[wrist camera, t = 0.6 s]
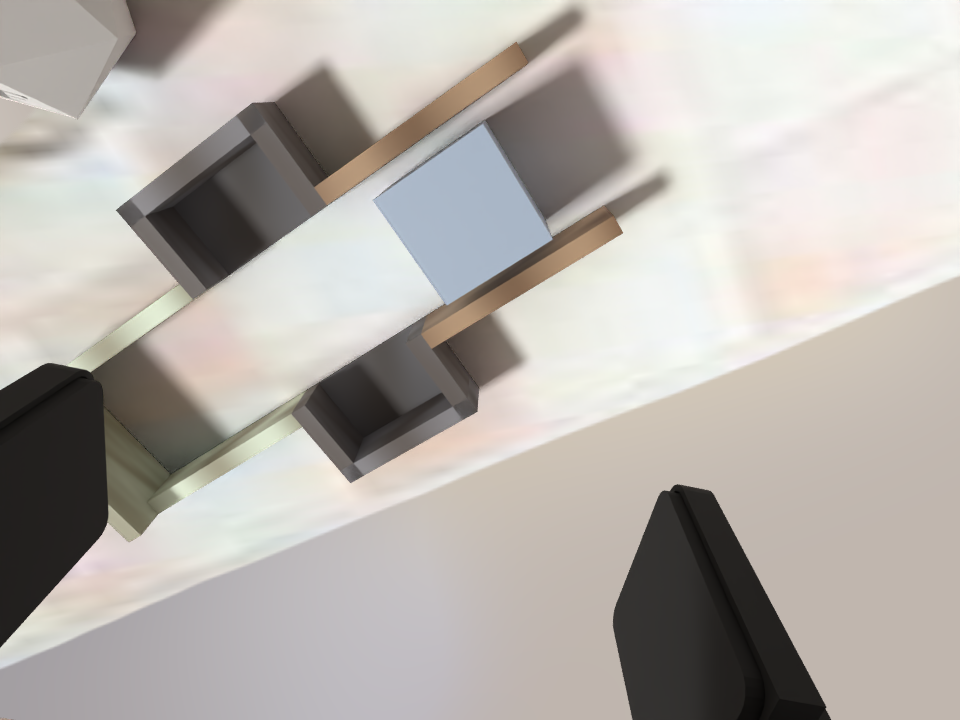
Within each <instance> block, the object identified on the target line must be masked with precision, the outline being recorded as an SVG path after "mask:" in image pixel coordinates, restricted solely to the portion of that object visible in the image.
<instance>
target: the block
mask: <svg viewBox="0 0 960 720" xmlns="http://www.w3.org/2000/svg"><path fill="white" fill-rule="evenodd" d="M373 201H374V203H375V204H376V205H377V207H378V208H379V210H380V211H381V213H382V214H383V215H384V217H385V218H386V220H387V221H388V223H389V224H390V225H391V227H392V228H393V230H394V231H395V233H396V234H397V235H398V237H399V238H400V240H401V241H402V243H403V244H404V245H405V247H406V248H407V250H408V251H409V253H410V254H411V255H412V257H413V258H414V260H415V261H416V263H417V264H418V265H419V267H420V268H421V270H422V271H423V273H424V274H425V275H426V277H427V278H428V280H429V281H430V282H431V284H432V285H433V287H434V288H435V290H436V291H437V292H438V294H439V295H440V297H441V298H442V300H443V301H444V302H445V304H446V305H449V304H450V303H452V302H453V301H455V300H457V299H458V298H460V297H461V296H463V295H465V294H466V293H468V292H469V291H471V290H473V289H474V288H476V287H477V286H479V285H481V284H482V283H484V282H485V281H487V280H489V279H490V278H492V277H493V276H495V275H497V274H498V273H500V272H502V271H503V270H505V269H506V268H508V267H510V266H511V265H513V264H514V263H516V262H518V261H519V260H521V259H522V258H524V257H526V256H527V255H529V254H530V253H532V252H534V251H535V250H537V249H538V248H540V247H542V246H543V245H545V244H546V243H548V242H550V241H551V240H553V238H552V236H551V233H550V230H549V228H548V225H547V223H546V220H545V218H544V217H543V215H542V213H541V212H540V210H539V209H538V207H537V205H536V204H535V202H534V200H533V199H532V197H531V195H530V194H529V192H528V190H527V189H526V187H525V185H524V184H523V182H522V180H521V179H520V177H519V175H518V174H517V172H516V170H515V169H514V167H513V165H512V164H511V162H510V160H509V159H508V157H507V156H506V154H505V152H504V151H503V149H502V147H501V146H500V144H499V142H498V141H497V139H496V137H495V136H494V134H493V132H492V131H491V129H490V127H489V126H488V124H487V122H486V121H485V120H484V121H483V122H481V123H480V124H478V125H477V126H475V127H474V128H473V129H471V130H470V131H468V132H467V133H465V134H464V135H462V136H461V137H460V138H458V139H457V140H455V141H454V142H452V143H451V144H450V145H448V146H447V147H445V148H444V149H442V150H441V151H440V152H438V153H437V154H435V155H434V156H432V157H431V158H429V159H428V160H427V161H425V162H424V163H422V164H421V165H419V166H418V167H417V168H415V169H414V170H412V171H411V172H409V173H408V174H407V175H405V176H404V177H402V178H401V179H399V180H398V181H397V182H395V183H394V184H392V185H391V186H389V187H388V188H387V189H386V190H385V191H383V192H382V193H381V194H380V195H379V196H377V197H376V198H375V199H374V200H373Z"/></svg>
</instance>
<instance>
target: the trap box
mask: <svg viewBox="0 0 960 720" xmlns="http://www.w3.org/2000/svg"><path fill="white" fill-rule="evenodd" d="M527 64H528V61H527V60H526V58H525V56H524V54H523V53H522V51H521V49H520V47H519V45H518V44H517V42H515V43H514V44H513V45H511V46H510V47H508V48H507V49H506V50H504V51H503V52H501V53H500V54H499V55H497V56H496V57H495V58H493V59H492V60H490V61H489V62H488V63H486V64H485V65H483V66H482V67H481V68H479V69H478V70H476V71H475V72H474V73H472V74H471V75H470V76H468V77H467V78H465V79H464V80H463V81H461V82H460V83H458V84H457V85H456V86H454V87H453V88H451V89H450V90H449V91H447V92H446V93H444V94H443V95H442V96H440V97H439V98H438V99H436V100H435V101H433V102H432V103H431V104H429V105H428V106H426V107H425V108H424V109H422V110H421V111H419V112H418V113H417V114H415V115H414V116H413V117H411V118H410V119H408V120H407V121H406V122H404V123H403V124H401V125H400V126H399V127H397V128H396V129H394V130H393V131H392V132H390V133H389V134H388V135H386V136H385V137H383V138H382V139H381V140H379V141H378V142H376V143H375V144H374V145H372V146H371V147H369V148H368V149H367V150H365V151H364V152H363V153H361V154H360V155H358V156H357V157H356V158H354V159H353V160H351V161H350V162H349V163H347V164H346V165H344V166H343V167H342V168H340V169H339V170H338V171H336V172H335V173H333V174H332V175H331V176H329V177H327V175H326V174H325V173H324V171H323V170H322V168H321V167H320V166H319V164H318V163H317V161H316V160H315V159H314V157H313V156H312V154H311V153H310V152H309V150H308V149H307V147H306V146H305V145H304V143H303V142H302V140H301V139H300V138H299V136H298V135H297V133H296V132H295V131H294V129H293V128H292V126H291V125H290V124H289V122H288V121H287V119H286V118H285V117H284V115H283V114H282V112H281V111H280V110H279V108H278V107H277V105H276V104H275V103H274V102H265V103H252V104H250V105H249V106H248V107H247V108H245V109H244V110H243V111H241V112H240V113H239V114H238V115H236V116H235V117H234V118H233V119H231V120H230V121H229V122H227V123H226V124H225V125H224V126H222V127H221V128H220V129H219V130H217V131H216V132H215V133H213V134H212V135H211V136H210V137H208V138H207V139H206V140H205V141H203V142H202V143H201V144H199V145H198V146H197V147H196V148H194V149H193V150H192V151H191V152H189V153H188V154H187V155H185V156H184V157H183V158H182V159H180V160H179V161H178V162H177V163H175V164H174V165H173V166H171V167H170V168H169V169H168V170H166V171H165V172H164V173H163V174H161V175H160V176H159V177H157V178H156V179H155V180H154V181H152V182H151V183H150V184H149V185H147V186H146V187H145V188H143V189H142V190H141V191H140V192H138V193H137V194H136V195H135V196H133V197H132V198H131V199H129V200H128V201H127V202H126V203H124V204H123V205H122V206H121V207H119V208H118V209H117V210H116V211H117V212H118V213H119V214H120V215H121V217H122V218H123V219H124V220H125V221H126V222H127V223H128V225H129V226H130V227H131V228H132V229H133V230H134V232H135V233H136V234H137V235H138V236H139V237H140V239H141V240H142V241H143V242H144V243H145V244H146V246H147V247H148V248H149V249H150V250H151V251H152V253H153V254H154V255H155V256H156V257H157V258H158V260H159V261H160V262H161V263H162V264H163V265H164V267H165V268H166V269H167V270H168V271H169V272H170V274H171V275H172V276H173V277H174V278H175V279H176V281H177V282H178V283H179V285H178V286H176V287H175V288H174V289H172V290H171V291H169V292H168V293H167V294H165V295H164V296H162V297H161V298H160V299H158V300H157V301H155V302H154V303H153V304H151V305H150V306H149V307H147V308H146V309H144V310H143V311H142V312H140V313H139V314H137V315H136V316H135V317H133V318H132V319H130V320H129V321H128V322H126V323H125V324H124V325H122V326H121V327H119V328H118V329H117V330H115V331H114V332H112V333H111V334H110V335H108V336H107V337H105V338H104V339H103V340H101V341H100V342H99V343H97V344H96V345H94V346H93V347H92V348H90V349H89V350H87V351H86V352H85V353H83V354H82V355H80V356H79V357H78V358H76V359H75V360H73V361H72V362H71V363H69V364H68V365H67V366H69V367H74V368H79V369H84V370H88V371H89V372H90V373H91V372H92V371H94V370H95V369H97V368H98V367H100V366H101V365H102V364H104V363H105V362H107V361H108V360H109V359H111V358H112V357H114V356H115V355H117V354H118V353H119V352H121V351H122V350H124V349H125V348H126V347H128V346H129V345H131V344H132V343H134V342H135V341H136V340H138V339H139V338H141V337H142V336H143V335H145V334H146V333H148V332H149V331H151V330H152V329H153V328H155V327H156V326H158V325H159V324H160V323H162V322H163V321H165V320H166V319H168V318H169V317H170V316H172V315H173V314H175V313H176V312H177V311H179V310H180V309H182V308H183V307H185V306H186V305H187V304H189V303H190V302H192V301H193V300H194V299H196V298H197V297H199V296H200V295H202V294H203V293H204V292H206V291H207V290H209V289H210V288H211V287H213V286H214V285H216V284H217V283H219V282H220V281H221V280H223V279H224V278H226V277H227V276H228V275H230V274H231V273H233V272H234V271H236V270H237V269H238V268H240V267H241V266H243V265H244V264H245V263H247V262H248V261H250V260H251V259H253V258H254V257H255V256H257V255H258V254H260V253H261V252H262V251H264V250H265V249H267V248H268V247H269V246H271V245H272V244H274V243H275V242H277V241H278V240H279V239H281V238H282V237H284V236H285V235H286V234H288V233H289V232H291V231H292V230H294V229H295V228H296V227H298V226H299V225H301V224H302V223H303V222H305V221H306V220H308V219H309V218H311V217H312V216H313V215H315V214H316V213H318V212H319V211H320V210H322V209H323V208H325V207H326V206H328V205H329V204H330V203H332V202H333V201H335V200H336V199H337V198H339V197H340V196H342V195H343V194H345V193H346V192H347V191H349V190H350V189H352V188H353V187H354V186H356V185H357V184H359V183H360V182H362V181H363V180H364V179H366V178H367V177H369V176H370V175H371V174H373V173H374V172H376V171H377V170H379V169H380V168H381V167H383V166H384V165H386V164H387V163H388V162H390V161H391V160H393V159H394V158H396V157H397V156H398V155H400V154H401V153H403V152H404V151H405V150H407V149H408V148H410V147H411V146H413V145H414V144H415V143H417V142H418V141H420V140H421V139H422V138H424V137H425V136H427V135H428V134H430V133H431V132H432V131H434V130H435V129H437V128H438V127H439V126H441V125H442V124H444V123H445V122H447V121H448V120H449V119H451V118H452V117H454V116H455V115H456V114H458V113H459V112H461V111H462V110H464V109H465V108H466V107H468V106H469V105H471V104H472V103H473V102H475V101H476V100H478V99H479V98H481V97H482V96H483V95H485V94H486V93H488V92H489V91H490V90H492V89H493V88H495V87H496V86H498V85H499V84H500V83H502V82H503V81H505V80H506V79H507V78H509V77H510V76H512V75H513V74H515V73H516V72H517V71H519V70H520V69H522V68H523V67H524V66H526V65H527ZM622 233H623V232H622V230H621V228H620V226H619V225H618V223H617V221H616V219H615V217H614V216H613V215H612V214H611V213H610V212H609V210H608V209H607V208H606V207H605V206H602V207H601V208H599V209H597V210H596V211H594V212H593V213H591V214H589V215H588V216H586V217H585V218H583V219H581V220H580V221H578V222H577V223H575V224H573V225H572V226H570V227H568V228H567V229H565V230H564V231H562V232H560V233H559V234H557V235H556V236H554V237H552V238H553V240H551V241H550V242H548V243H546V244H545V245H543V246H542V247H540V248H538V249H537V250H535V251H534V252H532V253H530V254H529V255H527V256H526V257H524V258H522V259H521V260H519V261H518V262H516V263H514V264H513V265H511V266H510V267H508V268H506V269H505V270H503V271H502V272H500V273H498V274H497V275H495V276H493V277H492V278H490V279H489V280H487V281H485V282H484V283H482V284H481V285H479V286H477V287H476V288H474V289H473V290H471V291H469V292H468V293H466V294H465V295H463V296H461V297H460V298H458V299H457V300H455V301H453V302H452V303H450V304H449V305H446V304H445V305H443V306H441V307H440V308H438V309H436V310H435V311H433V312H432V313H430V314H428V315H427V316H425V317H424V318H422V319H420V320H419V321H417V322H416V323H414V324H412V325H411V326H409V327H408V328H406V329H404V330H403V331H401V332H399V333H398V334H396V335H395V336H393V337H391V338H390V339H388V340H387V341H385V342H383V343H382V344H380V345H379V346H377V347H375V348H374V349H372V350H371V351H369V352H367V353H366V354H364V355H362V356H361V357H359V358H358V359H356V360H354V361H353V362H351V363H350V364H348V365H346V366H345V367H343V368H342V369H340V370H338V371H337V372H335V373H333V374H332V375H330V376H329V377H327V378H325V379H324V380H322V381H321V382H319V383H317V384H316V385H314V386H313V387H311V388H309V389H308V390H306V391H305V392H303V393H301V394H300V395H298V396H296V397H295V398H293V399H292V400H290V401H288V402H287V403H285V404H284V405H282V406H280V407H279V408H277V409H276V410H274V411H272V412H271V413H269V414H268V415H266V416H264V417H263V418H261V419H259V420H258V421H256V422H255V423H253V424H251V425H250V426H248V427H247V428H245V429H243V430H242V431H240V432H239V433H237V434H235V435H234V436H232V437H230V438H229V439H227V440H226V441H224V442H222V443H221V444H219V445H218V446H216V447H214V448H213V449H211V450H210V451H208V452H206V453H205V454H203V455H202V456H200V457H198V458H197V459H195V460H193V461H192V462H190V463H189V464H187V465H185V466H184V467H182V468H181V469H179V470H177V471H176V472H174V473H173V474H170V473H169V472H168V471H167V470H166V469H165V468H164V467H163V466H162V465H161V464H160V463H159V462H158V461H157V460H156V459H155V458H154V457H153V456H152V455H151V454H150V453H149V452H148V451H147V450H146V449H145V448H144V447H143V446H142V445H141V444H140V443H139V442H138V441H137V440H136V439H135V438H134V437H133V436H132V435H131V434H130V433H129V432H128V431H127V430H126V429H125V428H124V427H123V426H122V425H121V424H120V423H119V422H118V421H117V420H116V419H115V418H114V417H113V416H112V415H111V414H110V413H109V411H108V410H107V409H106V408H105V407H104V406H103V407H104V427H105V448H106V469H107V490H108V510H109V515H108V521H107V522H108V523H109V524H110V525H111V526H112V527H113V528H114V529H115V530H116V531H117V532H118V533H119V534H120V535H121V536H122V537H124V538H125V539H126V540H127V541H128V542H131V541H132V540H134V539H136V538H137V537H139V536H141V535H142V534H143V532H144V531H145V530H146V529H147V527H148V526H149V525H150V524H151V522H152V521H153V520H154V519H155V517H156V516H157V515H158V514H159V513H161V512H162V511H164V510H166V509H167V508H169V507H171V506H172V505H174V504H176V503H177V502H179V501H181V500H182V499H184V498H186V497H187V496H189V495H191V494H192V493H194V492H196V491H197V490H199V489H200V488H202V487H204V486H205V485H207V484H209V483H210V482H212V481H214V480H215V479H217V478H219V477H220V476H222V475H224V474H225V473H227V472H229V471H230V470H232V469H234V468H235V467H237V466H239V465H240V464H242V463H243V462H245V461H247V460H248V459H250V458H252V457H253V456H255V455H257V454H258V453H260V452H262V451H263V450H265V449H267V448H268V447H270V446H272V445H273V444H275V443H277V442H278V441H280V440H282V439H283V438H285V437H287V436H288V435H290V434H291V433H293V432H295V431H296V430H298V429H300V428H301V427H303V428H304V429H305V431H306V432H307V433H308V434H309V435H310V436H311V438H312V439H313V440H314V441H315V442H316V443H317V445H318V446H319V447H320V448H321V449H322V450H323V452H324V453H325V454H326V455H327V456H328V457H329V459H330V460H331V461H332V462H333V463H334V464H335V466H336V467H337V468H338V469H339V470H340V471H341V473H342V474H343V475H344V476H345V477H346V478H347V480H348V481H349V482H350V483H352V482H353V481H355V480H357V479H359V478H360V477H362V476H364V475H366V474H368V473H369V472H371V471H373V470H375V469H376V468H378V467H380V466H382V465H384V464H385V463H387V462H389V461H391V460H392V459H394V458H396V457H398V456H400V455H401V454H403V453H405V452H407V451H408V450H410V449H412V448H414V447H415V446H417V445H419V444H421V443H423V442H424V441H426V440H428V439H430V438H431V437H433V436H435V435H437V434H439V433H440V432H442V431H444V430H446V429H447V428H449V427H451V426H453V425H455V424H456V423H458V422H460V421H462V420H463V419H465V418H467V417H469V416H471V415H472V414H474V413H476V412H477V410H478V394H479V388H478V386H477V385H476V383H475V382H474V381H473V379H472V378H471V376H470V375H469V374H468V372H467V371H466V370H465V368H464V367H463V365H462V364H461V363H460V361H459V360H458V358H457V357H456V356H455V354H454V353H453V351H452V350H451V349H450V347H449V346H448V344H447V343H446V342H445V340H447V339H449V338H450V337H452V336H454V335H455V334H457V333H459V332H460V331H462V330H464V329H465V328H467V327H469V326H470V325H472V324H474V323H475V322H477V321H478V320H480V319H482V318H483V317H485V316H487V315H488V314H490V313H492V312H493V311H495V310H497V309H498V308H500V307H502V306H503V305H505V304H507V303H508V302H510V301H512V300H513V299H515V298H517V297H518V296H520V295H521V294H523V293H525V292H526V291H528V290H530V289H531V288H533V287H535V286H536V285H538V284H540V283H541V282H543V281H545V280H546V279H548V278H550V277H551V276H553V275H555V274H556V273H558V272H560V271H561V270H563V269H565V268H566V267H568V266H569V265H571V264H573V263H574V262H576V261H578V260H579V259H581V258H583V257H584V256H586V255H588V254H589V253H591V252H593V251H594V250H596V249H598V248H599V247H601V246H603V245H604V244H606V243H608V242H609V241H611V240H613V239H614V238H616V237H617V236H619V235H621V234H622Z"/></svg>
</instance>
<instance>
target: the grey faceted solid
mask: <svg viewBox="0 0 960 720" xmlns="http://www.w3.org/2000/svg"><path fill="white" fill-rule="evenodd" d="M135 34H136V30H135V27H134V24H133V21H132V18H131V15H130V12H129V10H128V7H127V4H126V1H125V0H0V98H3V99H7V100H10V101H14V102H18V103H21V104H25V105H29V106H32V107H36V108H39V109H43V110H47V111H50V112H54V113H58V114H61V115H65V116H68V117H72V118H76V119H78V118H79V117H80V115H81V114H82V112H83V111H84V109H85V108H86V107H87V105H88V104H89V102H90V101H91V99H92V98H93V96H94V95H95V93H96V92H97V90H98V89H99V87H100V86H101V84H102V83H103V82H104V80H105V79H106V77H107V76H108V74H109V73H110V71H111V70H112V68H113V67H114V65H115V64H116V62H117V61H118V59H119V58H120V57H121V55H122V54H123V52H124V51H125V49H126V48H127V46H128V45H129V43H130V42H131V40H132V39H133V37H134V36H135Z"/></svg>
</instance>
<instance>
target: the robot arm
mask: <svg viewBox="0 0 960 720" xmlns="http://www.w3.org/2000/svg"><path fill="white" fill-rule="evenodd" d="M108 515H109V510H108V490H107V469H106V448H105V427H104V407H103V390H102V386H101V384H100V383H99V382H98V381H94V378H93V376H92V374H91V373H90V372H89V371H88V370H84V369H79V368H74V367H69V366H64V365H59V364H53V363H47V364H44V365H42V366H40V367H39V368H37V369H35V370H33V371H32V372H30V373H28V374H27V375H25V376H23V377H22V378H20V379H18V380H17V381H15V382H13V383H12V384H10V385H8V386H7V387H5V388H3V389H1V390H0V647H1V646H2V645H3V644H4V643H5V642H6V641H7V640H8V638H9V637H10V636H11V635H12V634H13V633H14V632H15V631H16V630H17V628H18V627H19V626H20V625H21V624H22V623H23V622H24V621H25V620H26V619H27V617H28V616H29V615H30V614H31V613H32V612H33V611H34V610H35V609H36V607H37V606H38V605H39V604H40V603H41V602H42V601H43V600H44V599H45V597H46V596H47V595H48V594H49V593H50V592H51V591H52V590H53V589H54V587H55V586H56V585H57V584H58V583H59V582H60V581H61V580H62V579H63V578H64V576H65V575H66V574H67V573H68V572H69V571H70V570H71V569H72V568H73V566H74V565H75V564H76V563H77V562H78V561H79V560H80V559H81V558H82V556H83V555H84V554H85V553H86V552H87V551H88V550H89V549H90V548H91V546H92V545H93V544H94V543H95V542H96V541H97V540H98V539H99V537H100V536H101V535H102V533H103V531H104V530H105V527H106V525H107V521H108ZM613 628H614V633H615V639H616V643H617V648H618V653H619V658H620V662H621V667H622V672H623V677H624V681H625V686H626V690H627V695H628V700H629V705H630V710H631V715H632V719H633V720H831V719H830V717H829V715H828V713H827V711H826V709H825V708H826V706H825V704H824V702H823V700H822V698H821V696H820V694H819V692H818V690H817V689H816V687H815V685H814V683H813V681H812V679H811V677H810V675H809V673H808V671H807V670H806V668H805V666H804V664H803V662H802V660H801V658H800V657H799V655H798V653H797V651H796V649H795V647H794V645H793V643H792V641H791V640H790V638H789V636H788V634H787V632H786V630H785V628H784V626H783V624H782V622H781V621H780V619H779V617H778V615H777V613H776V611H775V609H774V607H773V606H772V604H771V602H770V600H769V598H768V596H767V594H766V593H765V591H764V589H763V587H762V585H761V583H760V581H759V579H758V577H757V575H756V574H755V572H754V570H753V568H752V566H751V564H750V562H749V560H748V559H747V557H746V555H745V553H744V551H743V549H742V547H741V545H740V543H739V541H738V540H737V538H736V536H735V534H734V532H733V530H732V528H731V526H730V524H729V523H728V521H727V519H726V517H725V515H724V513H723V511H722V509H721V508H720V506H719V504H718V502H717V500H716V498H715V496H714V495H713V493H712V492H711V491H709V490H704V489H699V488H694V487H689V486H684V485H678V484H677V485H674V486H673V488H672V489H671V490H670V491H662V492H661V493H660V495H659V497H658V499H657V502H656V504H655V507H654V509H653V512H652V514H651V517H650V520H649V522H648V525H647V527H646V530H645V532H644V535H643V537H642V540H641V542H640V545H639V547H638V550H637V553H636V555H635V558H634V560H633V563H632V565H631V568H630V570H629V573H628V575H627V578H626V581H625V583H624V586H623V588H622V591H621V593H620V596H619V599H618V601H617V603H616V607H615V610H614V616H613ZM0 720H12V719H5V718H0Z"/></svg>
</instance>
